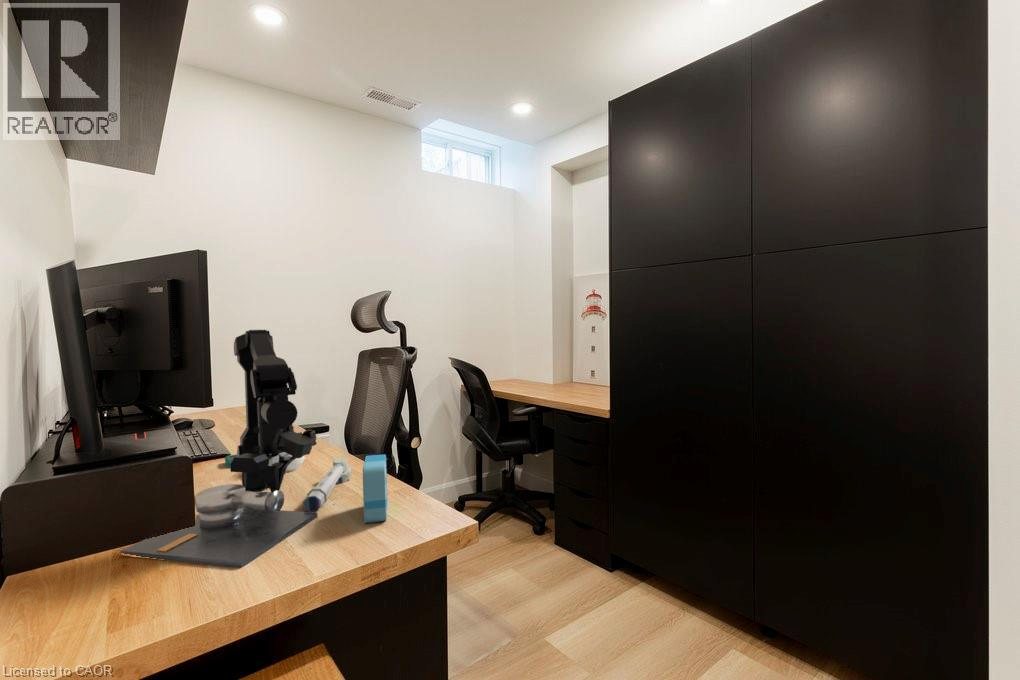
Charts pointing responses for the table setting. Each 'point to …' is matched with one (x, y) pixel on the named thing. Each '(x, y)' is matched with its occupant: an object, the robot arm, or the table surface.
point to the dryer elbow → (237, 499)
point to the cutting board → (224, 537)
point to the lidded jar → (295, 464)
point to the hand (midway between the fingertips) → (275, 492)
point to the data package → (375, 488)
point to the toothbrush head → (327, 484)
